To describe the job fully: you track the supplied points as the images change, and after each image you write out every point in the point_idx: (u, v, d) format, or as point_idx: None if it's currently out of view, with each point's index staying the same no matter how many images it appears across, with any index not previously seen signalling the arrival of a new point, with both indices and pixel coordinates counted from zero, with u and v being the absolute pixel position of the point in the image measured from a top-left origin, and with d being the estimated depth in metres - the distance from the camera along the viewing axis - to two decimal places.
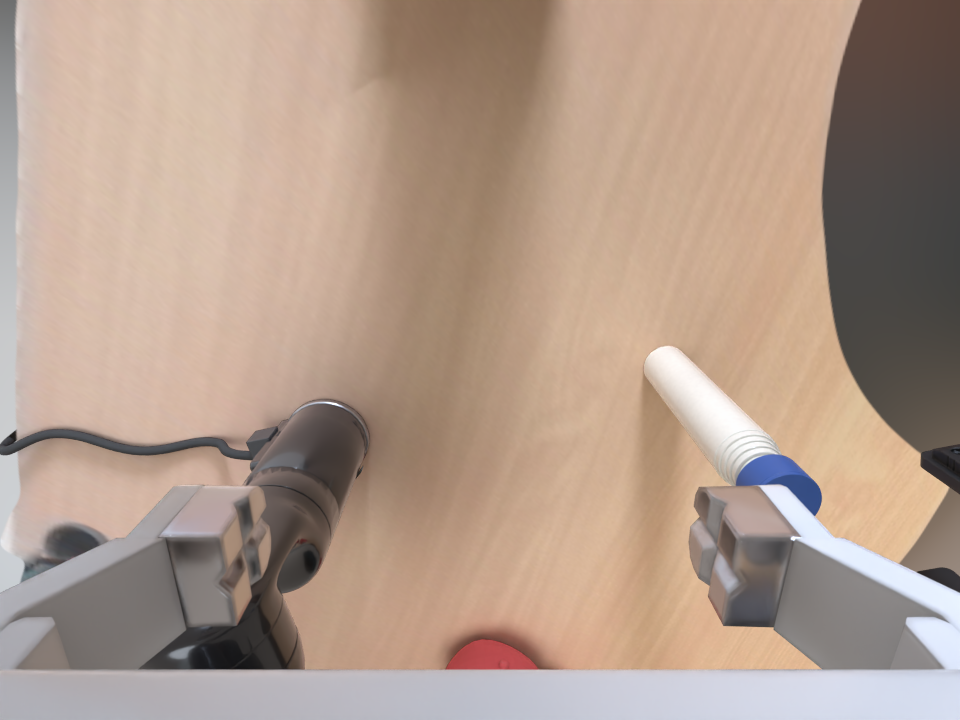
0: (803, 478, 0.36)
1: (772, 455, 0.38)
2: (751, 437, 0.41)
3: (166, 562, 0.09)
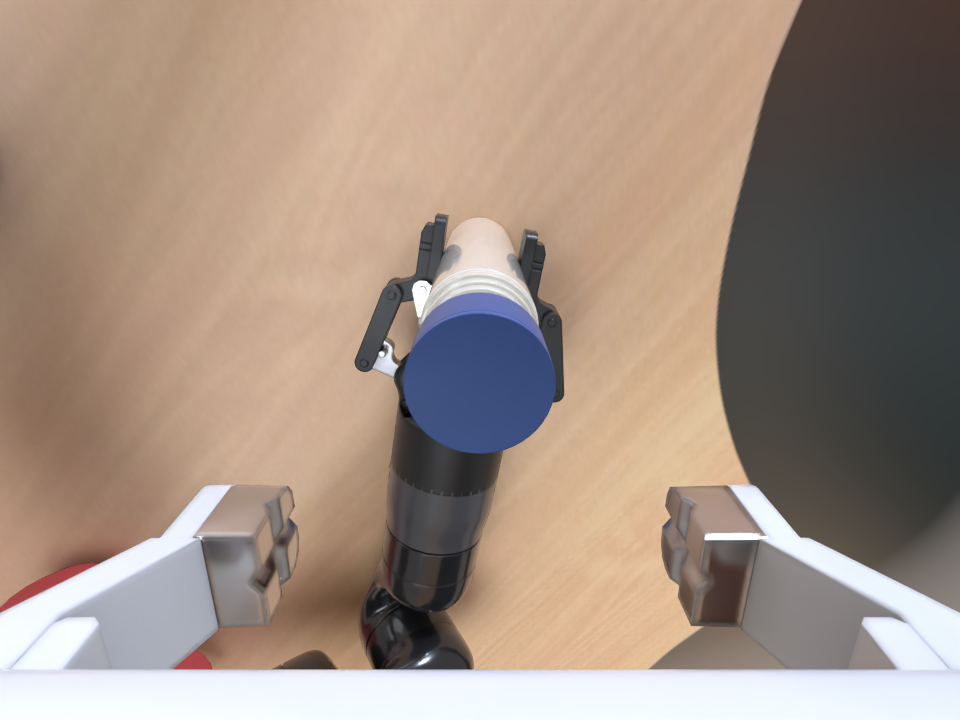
0: (528, 337, 0.16)
1: (501, 296, 0.18)
2: (494, 280, 0.21)
3: (200, 562, 0.09)
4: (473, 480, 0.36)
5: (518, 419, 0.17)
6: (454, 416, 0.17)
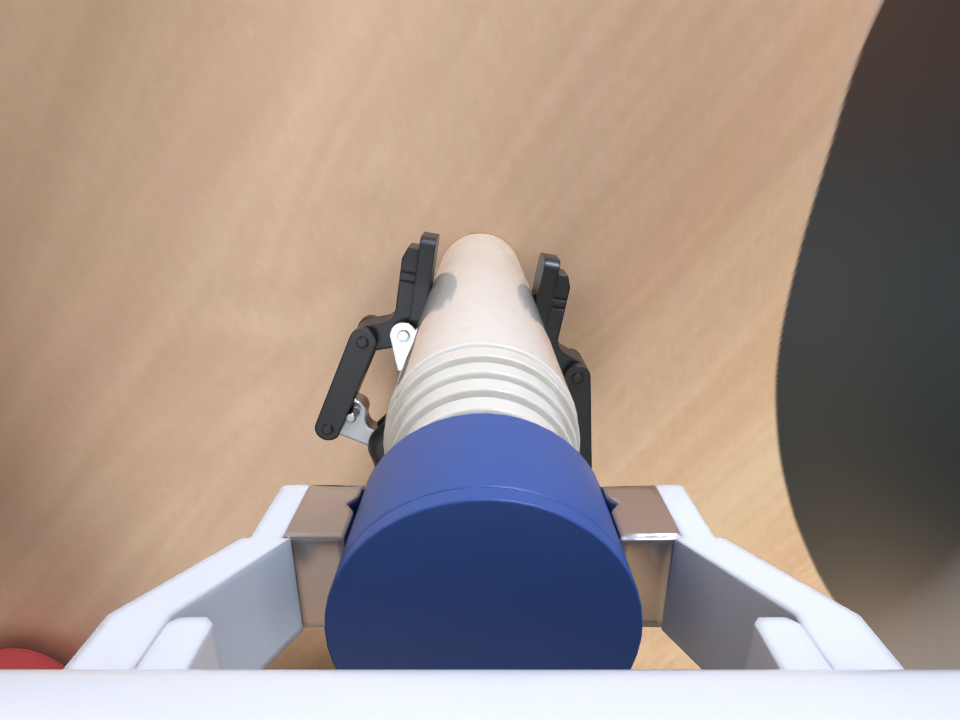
0: (589, 547, 0.07)
1: (525, 423, 0.09)
2: (507, 367, 0.12)
3: (290, 562, 0.09)
4: None
5: None
6: None
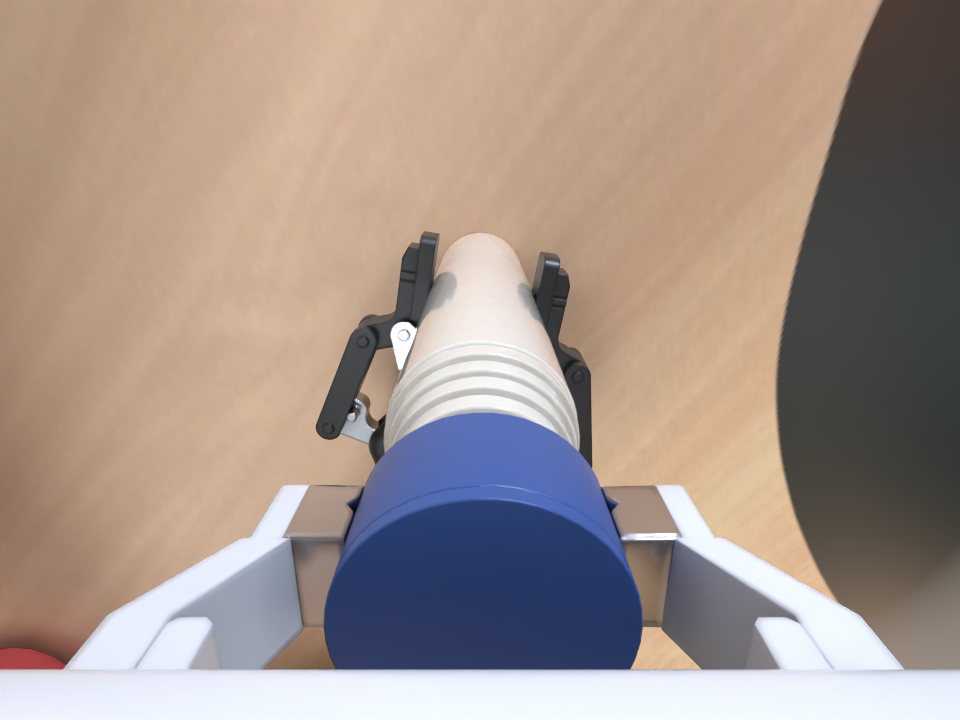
0: (403, 530, 0.07)
1: (377, 465, 0.10)
2: (507, 365, 0.12)
3: (290, 562, 0.09)
4: None
5: (584, 588, 0.08)
6: None
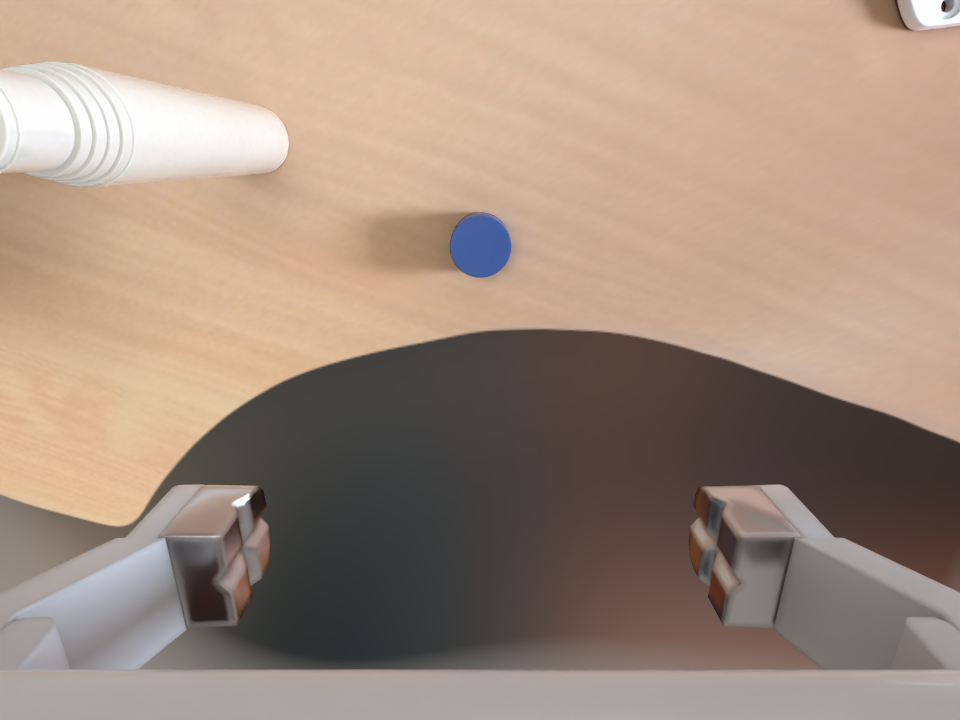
0: (497, 224, 0.41)
1: (487, 213, 0.43)
2: (115, 122, 0.22)
3: (166, 562, 0.09)
4: None
5: (497, 260, 0.42)
6: (471, 261, 0.42)
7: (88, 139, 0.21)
